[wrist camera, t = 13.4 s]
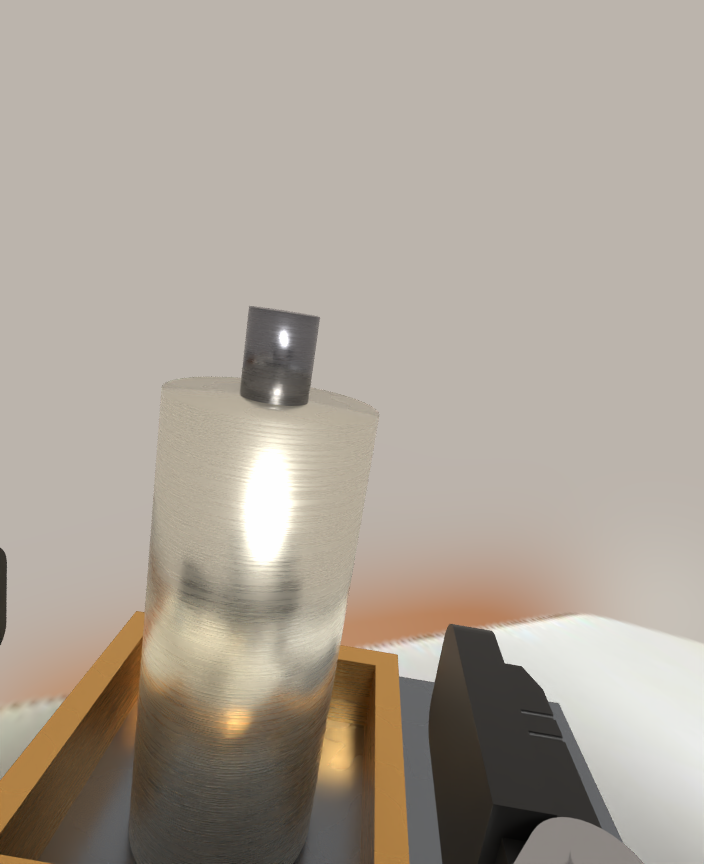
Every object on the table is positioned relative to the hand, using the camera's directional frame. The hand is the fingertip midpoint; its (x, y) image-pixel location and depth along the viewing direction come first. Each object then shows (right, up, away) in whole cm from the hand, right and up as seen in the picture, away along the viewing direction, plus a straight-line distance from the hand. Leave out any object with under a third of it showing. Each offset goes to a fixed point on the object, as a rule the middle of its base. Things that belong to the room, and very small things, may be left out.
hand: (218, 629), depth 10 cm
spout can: (-1, -7, +6) cm, 9 cm away
